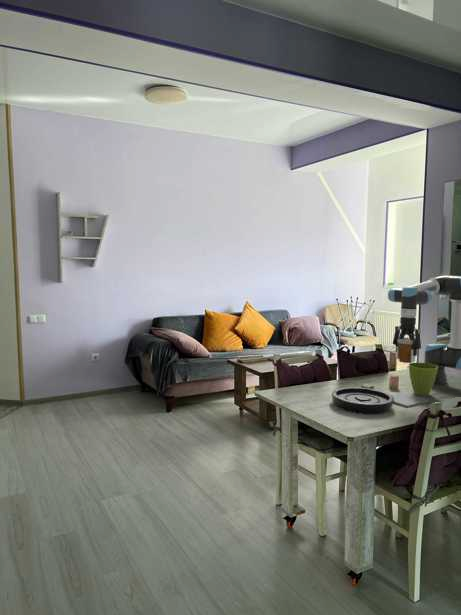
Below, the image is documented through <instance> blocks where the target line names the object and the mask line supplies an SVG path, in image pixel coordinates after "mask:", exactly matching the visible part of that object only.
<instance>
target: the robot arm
mask: <svg viewBox="0 0 461 615" xmlns="http://www.w3.org/2000/svg"><path fill="white" fill-rule="evenodd" d="M435 295H441V296H448V297H449V301H450V302H451V317H450V332H449V333H450V337H449V343H448V344H445V343H428V344H426V345H425V347H424V348H425V349H424V360H423V361H424V362H423V363H428V364H433V365H436V366H438V371H437V375H436V378H435V381H434V384H433V385H446V384H448V377H447V374H446V373H447V372H446V368H449V369H454V370H457V371H459V370H460V371H461V275H447V274H445V275H441V276H440V275H439V276H435V277H431V278H429V279H427V280H426V281H424V282H420V283H416V284H411V285H409V286H403V287H401V288H400V287H399V288H397V287H395V288H394V287H393V288H391V289H389V290H388V292H387V298H388V301H389V302H392V303H401V304H400V305H401V306H400V318H399V319H400V320H399V321H400V322H399V323H400V325H396V326H395V327H394V335H393V340H392V344H393V345H394V346H395V353H396V360H399V351H398V342H397V340H398V338H399V339H403V338H405V336H408V338H410V340H412V342H413V344H412V347H413V349H411V362H412V363H416V356H418V350H420V349H422V343H421V329H420V328H416V324H417V322H416V321H417V318H416V317H417V311H418V310H417V309H418V308H417V307H418V306H420V305H428V304H429V303H431V301H432V298H433V297H432V296H435ZM413 340H415V341H413Z"/></svg>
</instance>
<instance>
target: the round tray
mask: <svg viewBox="0 0 461 615" xmlns="http://www.w3.org/2000/svg"><path fill="white" fill-rule="evenodd" d="M392 395H393V394H390V393H389V392H388V393H387V392H385V391H383V390H379V389H376V388H374V389H371V388H361V386H360V387H358V386H357V387H356V386H350V387H349V386H348V387H347V386H346V387H339V388H337V389H334V390H333V391H332V392H331V399H332V402H333V404H334V405H335V406H336V407H337V408H338V407H339V408H338V409H340V408H341V409H340V410H342V409H343V411H345V410H346V411H345V412H349V411H350V412H349V413H353V412H355V414H359V413H362V415H380V413H382V414H385V412H386V413H388V412H390V410H391V409H392V408H393V405H394V403H393V402H394V398H393V396H392Z"/></svg>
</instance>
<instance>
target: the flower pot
mask: <svg viewBox="0 0 461 615" xmlns="http://www.w3.org/2000/svg"><path fill="white" fill-rule="evenodd" d="M408 370H409V378H410V382H411V387H412V391H413V393H414V394H415V396H416V395H417V396H422V397H427V396H429V395H430V392H431V391H432V389H433V386H434V385H435V384H434V381H435V378H436V375H437V371H438V366H436V365H433V364H428V363H424V362H412V363H408Z"/></svg>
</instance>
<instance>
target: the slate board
mask: <svg viewBox="0 0 461 615" xmlns="http://www.w3.org/2000/svg"><path fill="white" fill-rule="evenodd" d="M391 395H392V396H393V398H394V402H393V405H397V406H401V407H404V408H412V407H415V406H419V405H422V404H425V403H426V404H427V403H429V401H430V400H429V399H426V398H423V397H418V396H416V395H412V394H408V393H406V392H400V393H395V394H391Z"/></svg>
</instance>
